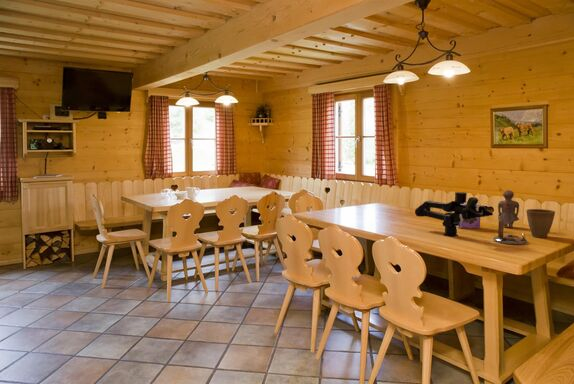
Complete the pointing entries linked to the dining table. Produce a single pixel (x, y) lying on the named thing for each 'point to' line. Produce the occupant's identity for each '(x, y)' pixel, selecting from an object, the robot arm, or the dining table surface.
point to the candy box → (470, 221)
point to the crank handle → (507, 237)
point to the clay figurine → (508, 209)
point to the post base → (511, 241)
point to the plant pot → (540, 221)
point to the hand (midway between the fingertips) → (487, 215)
